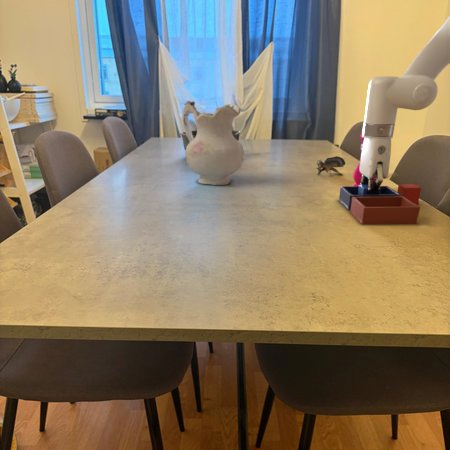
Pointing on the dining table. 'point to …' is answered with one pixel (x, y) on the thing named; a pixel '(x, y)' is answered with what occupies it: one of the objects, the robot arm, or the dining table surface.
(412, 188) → the red block
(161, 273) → the dining table surface
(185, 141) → the bundt pan
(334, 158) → the brown insect figurine
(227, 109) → the ceramic pitcher
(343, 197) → the blue bin
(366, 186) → the blue block
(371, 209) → the red bin
